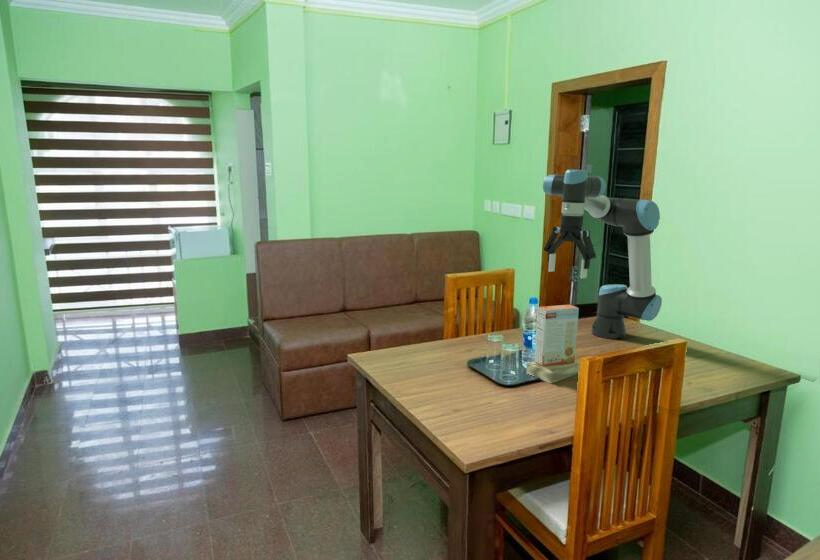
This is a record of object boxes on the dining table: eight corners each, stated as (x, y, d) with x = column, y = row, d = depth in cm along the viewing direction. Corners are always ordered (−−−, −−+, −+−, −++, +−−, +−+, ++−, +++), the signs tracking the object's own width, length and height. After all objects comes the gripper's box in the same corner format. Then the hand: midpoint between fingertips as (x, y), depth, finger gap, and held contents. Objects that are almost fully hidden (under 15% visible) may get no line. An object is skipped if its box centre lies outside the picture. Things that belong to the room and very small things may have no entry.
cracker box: (565, 357, 204) (570, 303, 200) (574, 363, 198) (580, 307, 194) (532, 361, 199) (537, 305, 195) (541, 367, 194) (546, 310, 190)
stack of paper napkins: (526, 373, 199) (526, 362, 198) (555, 364, 209) (556, 354, 208) (550, 383, 190) (551, 371, 189) (579, 373, 201) (580, 362, 200)
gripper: (536, 212, 197) (532, 269, 201) (597, 218, 178) (591, 281, 182) (549, 211, 202) (545, 268, 206) (610, 217, 182) (604, 279, 187)
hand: (566, 274), depth 194 cm, fingers open, 13 cm apart
